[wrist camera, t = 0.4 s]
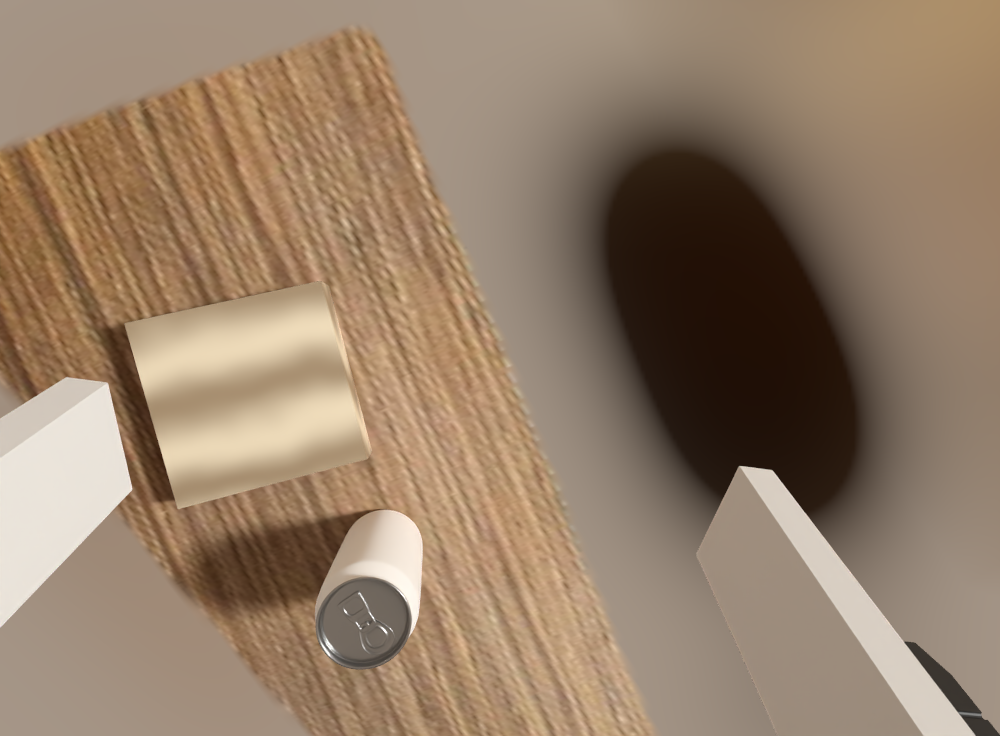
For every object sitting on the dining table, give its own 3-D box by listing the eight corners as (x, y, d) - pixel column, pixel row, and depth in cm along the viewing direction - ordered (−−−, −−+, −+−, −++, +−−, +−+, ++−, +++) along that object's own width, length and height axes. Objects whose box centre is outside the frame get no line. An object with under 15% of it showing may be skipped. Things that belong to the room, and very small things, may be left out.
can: (372, 599, 41) (348, 698, 30) (328, 537, 41) (285, 613, 29) (437, 554, 42) (439, 633, 30) (395, 492, 41) (379, 549, 30)
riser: (371, 451, 41) (367, 459, 38) (197, 497, 39) (177, 509, 36) (328, 286, 40) (320, 280, 37) (148, 325, 38) (124, 323, 35)
